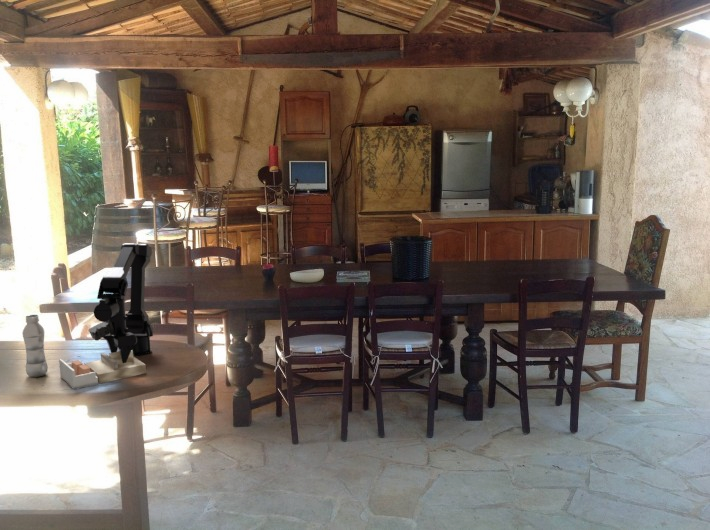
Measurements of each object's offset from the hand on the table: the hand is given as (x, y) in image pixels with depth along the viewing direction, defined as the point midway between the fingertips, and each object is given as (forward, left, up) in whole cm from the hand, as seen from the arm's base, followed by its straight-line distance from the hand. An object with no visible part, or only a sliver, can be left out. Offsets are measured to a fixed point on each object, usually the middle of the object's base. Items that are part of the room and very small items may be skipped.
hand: (119, 359), depth 211 cm
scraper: (-1, 0, -1) cm, 1 cm away
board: (+2, 0, -4) cm, 4 cm away
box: (+13, 0, -4) cm, 14 cm away
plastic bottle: (+22, -13, -4) cm, 26 cm away
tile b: (+11, +3, -1) cm, 11 cm away
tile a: (+11, -3, -1) cm, 12 cm away
